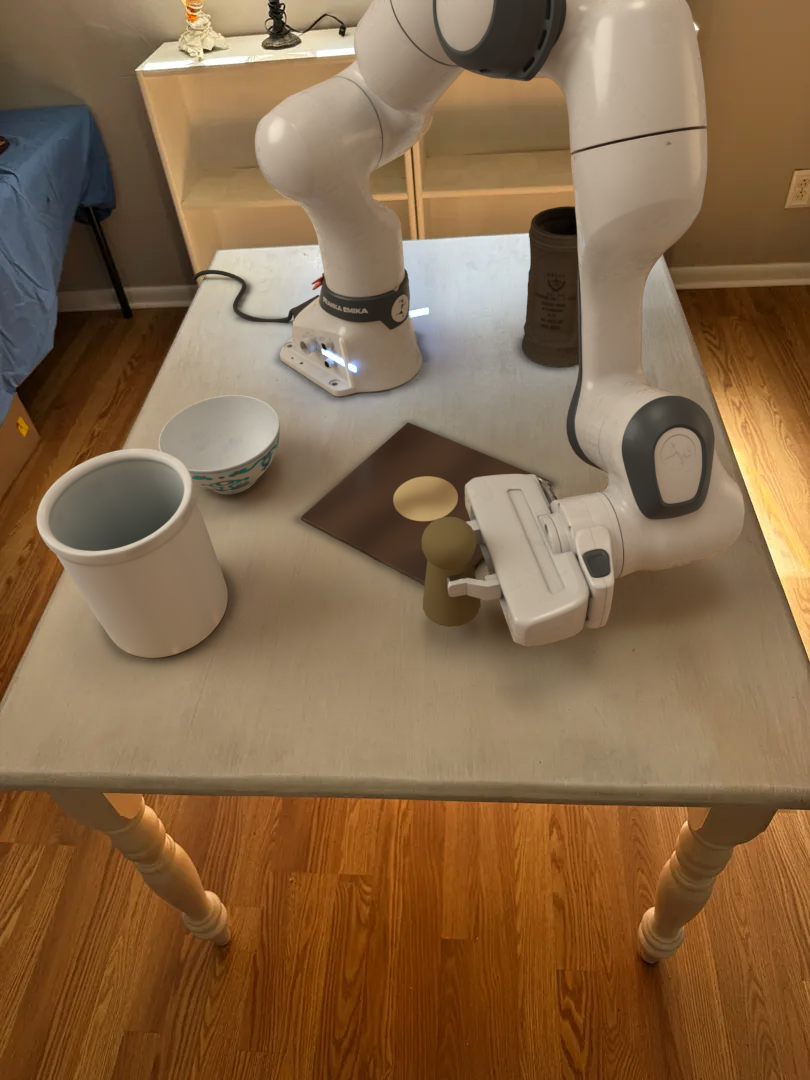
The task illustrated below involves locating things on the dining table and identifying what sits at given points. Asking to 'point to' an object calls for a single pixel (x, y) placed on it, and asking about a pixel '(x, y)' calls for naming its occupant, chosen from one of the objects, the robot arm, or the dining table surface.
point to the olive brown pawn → (448, 571)
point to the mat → (403, 497)
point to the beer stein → (553, 289)
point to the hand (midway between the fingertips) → (441, 567)
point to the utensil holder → (137, 549)
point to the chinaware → (223, 441)
